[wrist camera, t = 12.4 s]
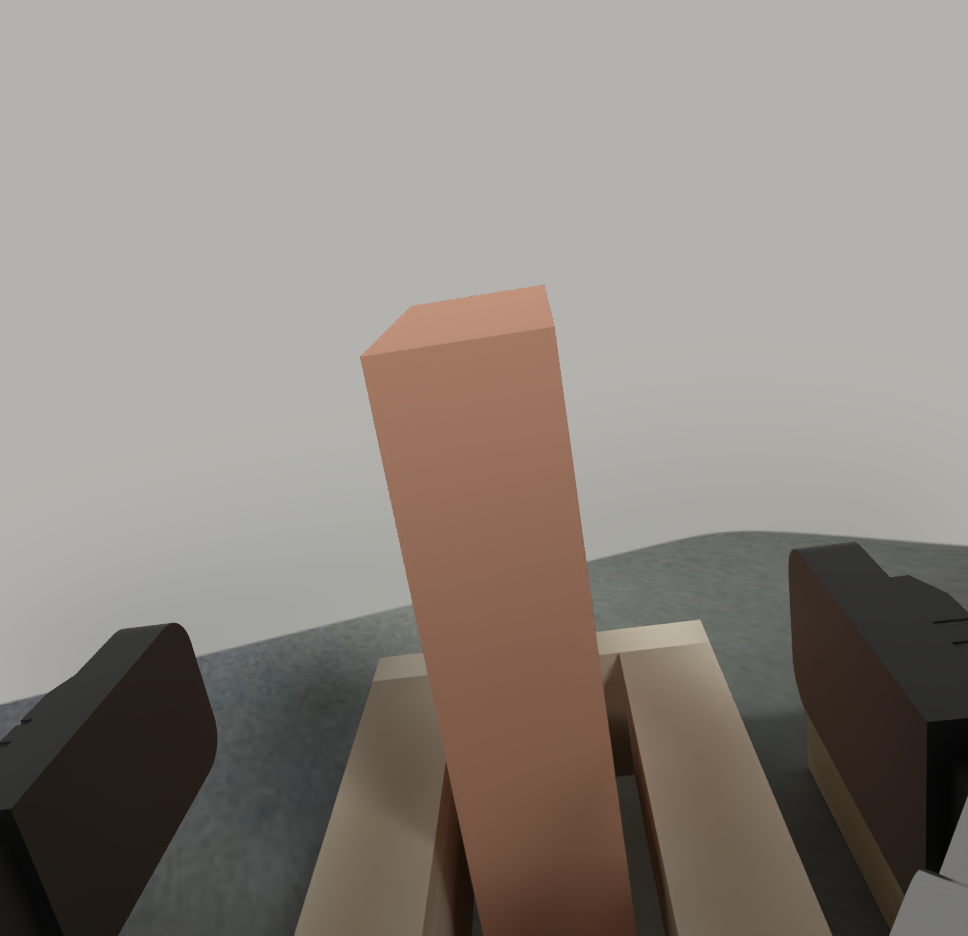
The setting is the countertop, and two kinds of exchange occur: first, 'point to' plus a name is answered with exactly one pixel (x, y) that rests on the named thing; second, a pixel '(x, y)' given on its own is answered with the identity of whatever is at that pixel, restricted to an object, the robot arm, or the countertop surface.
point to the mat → (629, 864)
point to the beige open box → (636, 751)
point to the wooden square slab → (853, 828)
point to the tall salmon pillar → (504, 606)
